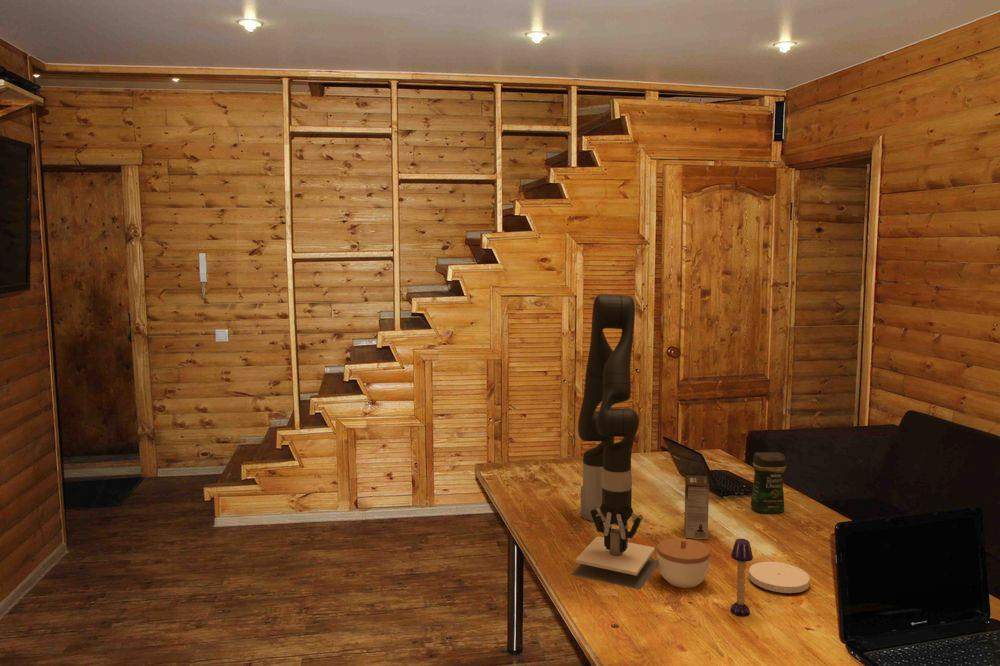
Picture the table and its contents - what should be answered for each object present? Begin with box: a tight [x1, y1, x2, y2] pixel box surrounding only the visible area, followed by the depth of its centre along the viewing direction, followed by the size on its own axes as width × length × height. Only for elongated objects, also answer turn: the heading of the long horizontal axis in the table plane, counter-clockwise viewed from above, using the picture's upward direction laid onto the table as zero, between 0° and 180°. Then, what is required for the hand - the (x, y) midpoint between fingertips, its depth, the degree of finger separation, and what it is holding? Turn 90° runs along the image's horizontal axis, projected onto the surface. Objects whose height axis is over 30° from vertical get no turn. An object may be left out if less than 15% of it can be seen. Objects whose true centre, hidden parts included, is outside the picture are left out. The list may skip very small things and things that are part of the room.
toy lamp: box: [730, 538, 754, 617], centre depth 162 cm, size 5×5×17 cm
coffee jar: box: [750, 451, 787, 514], centre depth 224 cm, size 10×8×19 cm
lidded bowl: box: [656, 537, 711, 589], centre depth 176 cm, size 13×13×11 cm
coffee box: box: [684, 474, 710, 540], centre depth 206 cm, size 9×6×16 cm
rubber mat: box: [570, 558, 659, 590], centre depth 184 cm, size 18×18×1 cm
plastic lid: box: [748, 561, 811, 594], centre depth 176 cm, size 14×14×2 cm
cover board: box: [574, 528, 656, 576], centre depth 184 cm, size 16×16×7 cm
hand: (615, 549), depth 184 cm, fingers closed on cover board, 3 cm apart
